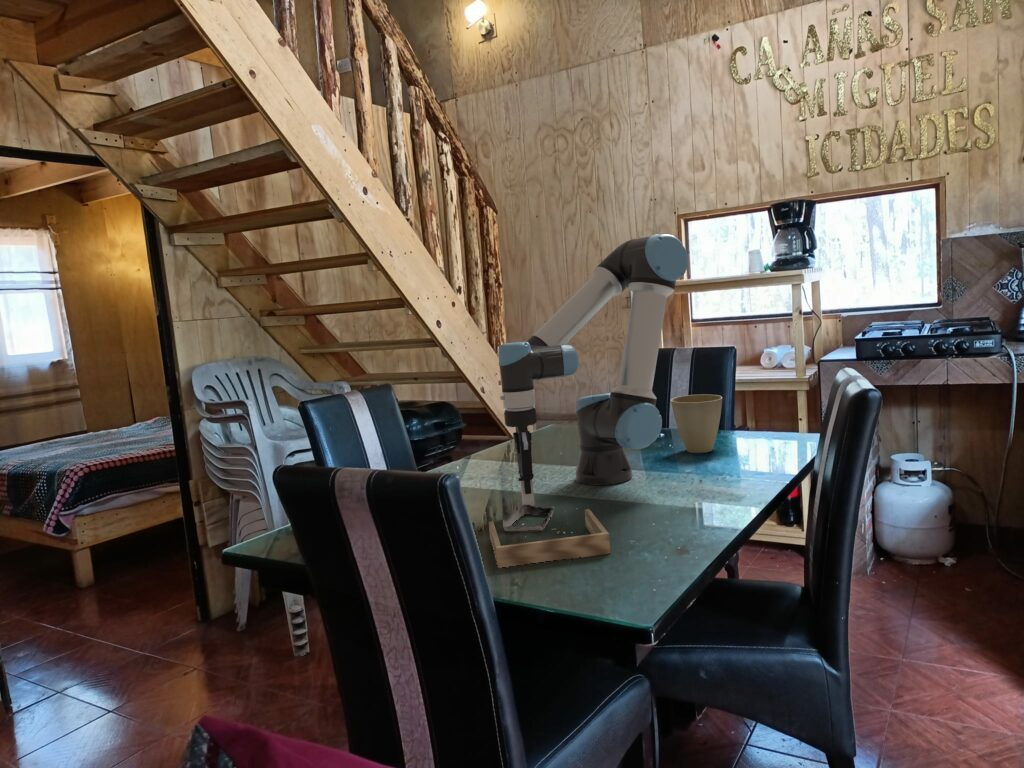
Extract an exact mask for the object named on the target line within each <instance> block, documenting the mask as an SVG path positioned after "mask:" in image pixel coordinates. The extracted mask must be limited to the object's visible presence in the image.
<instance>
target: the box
mask: <svg viewBox="0 0 1024 768" xmlns="http://www.w3.org/2000/svg"><path fill="white" fill-rule="evenodd" d="M584 518H585V528H586V530H588V532H589V533H590V534H584V535H576V536H568V537H559V538H551V539H544V540H537V541H529V542H524V543H523V542H521V543H513V544H506V545H502V544H501V542H500V539H499V535H498V532H497V528H496V527H495V523H494V521H493V520H492V521H491V520H490V521H488V530H489V540H490V543H492V544H491V547H493V548H492V550H494V551H493V555H494V554H495V555H494V558H495V561H497V562H496V566H497V565H498V566H497V569H498V568H499V569H503V568H502V567H506V568H510V567H509V566H514V567H517V566H516V565H521V566H524V565H523V564H529V565H531V564H530V563H536V562H544V563H546V562H545V561H551V562H554V561H553V560H558V561H563V560H562V559H566V560H572V559H571V558H573V559H578V558H579V557H581V558H585V557H586V558H587V557H594V556H601V555H603V556H604V555H609V553H610V554H611V543H610V533H609V532H608V530H607V529H606V527H604V525H603V524H602V523H601V521H600V520H599V519H598V518H597V516H595V514H594V513H593V512H592V511H591V510H590V509H589V508H587V509H584ZM579 559H580V558H579ZM536 564H537V563H536Z"/></svg>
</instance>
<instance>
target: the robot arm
mask: <svg viewBox="0 0 1024 768" xmlns="http://www.w3.org/2000/svg"><path fill="white" fill-rule="evenodd" d="M688 256H689V255H688V252H687V249H686V247H685V246H684V245H683V242H682V241H680V239H679V238H677V237H676V236H675V235H672V234H668V233H667V234H666V233H663V234H658V233H657V234H653V235H649V236H644V237H640V238H632V239H629V240H626V241H624V242H623V243H621V244H620V245H619V246H617V247H616V248H615V249H613V250H612V251H611V252H610V253H609V254H608V255H607V256H606V257H605V258H603V260H602V261H601V262H600V263H599V264H598V265H597V266H596V267H595V268H594V269H593V271H592V273H593V275H592V276H591V277H590V278H589V279H588V280H587V281H586V282H585V283H584V284H583V285H582V286H581V287H580V288H579V289H578V290H577V291H576V292H575V293H574V294H572V296H571V297H570V298H569V299H568V300H567V301H566V302H565V303H564V304H563V305H562V306H560V308H559V309H557V311H556V312H555V313H554V314H553V315H552V316H551V317H550V318H549V319H548V320H547V321H546V322H544V324H543V325H542V326H541V327H540V328H539V329H538V330H536V332H535V333H534V334H533V335H532V336H531V337H529V339H527V340H526V341H516V342H507V343H502V344H500V346H499V347H498V366H499V374H500V383H501V392H502V395H500V397H499V398H500V401H502V404H503V408H504V409H505V410H504V411H503V414H504V415H503V416H504V424H505V426H506V427H509V428H515V431H514V432H513V433H512V436H513V437H512V438H513V440H514V447H515V450H516V458H517V466H518V468H517V469H518V474H519V477H518V478H517V479H518V482H520V489H521V501H522V506H523V505H524V504H526V505H527V504H529V505H532V506H535V507H536V504H535V495H534V494H535V493H534V484H533V479H534V477H535V476H534V472H533V459H532V457H533V456H532V455H533V454H532V451H533V449H532V445H533V444H532V439H533V437H532V432H530V431H529V429H528V427H529V426H533V425H535V424H537V422H538V419H537V418H538V417H537V409H536V408H535V407H534V406H536V395H535V394H536V393H535V388H534V386H535V385H534V382H535V381H540V380H546V379H553V378H554V379H556V378H565V377H568V376H571V375H572V376H573V375H574V374H575V373H576V372H577V371H578V369H579V364H580V363H579V362H580V361H579V356H578V355H579V354H578V352H577V350H576V349H575V347H574V346H572V344H571V345H570V344H567V343H568V342H569V341H570V340H571V339H572V338H573V337H574V336H575V335H576V334H577V333H578V332H579V331H580V330H581V329H582V328H583V327H584V326H585V325H586V324H587V323H588V322H589V320H591V319H592V317H594V316H595V315H596V314H597V313H598V312H599V310H601V309H602V308H603V307H604V306H605V305H606V303H608V302H609V301H610V299H611V298H613V297H615V296H616V297H617V296H620V295H621V294H622V293H623V292H625V290H626V289H628V288H629V289H630V291H632V298H631V302H630V310H629V315H628V316H629V317H628V323H627V328H626V334H625V339H624V347H623V352H622V359H621V365H620V372H619V377H618V383H617V386H616V387H614V388H613V389H612V390H611V391H610V392H606V393H599V394H593V395H587V396H583V397H582V396H581V397H578V399H577V400H576V404H575V405H576V406H575V407H576V408H575V413H576V419H577V420H576V421H577V431H578V440H579V441H578V442H579V456H578V461H577V466H576V468H575V469H576V470H575V481H576V482H577V483H578V484H581V485H582V484H583V485H586V486H607V485H608V486H609V485H614V484H615V485H616V484H620V483H624V482H627V481H629V480H631V479H632V478H633V470H632V466H631V463H630V461H629V459H628V457H627V454H626V452H625V449H629V450H633V449H634V450H641V449H645V448H647V447H649V446H650V445H652V444H653V443H655V441H656V440H657V439H658V437H659V436H660V433H661V432H662V431H661V430H662V426H663V419H662V415H661V414H660V410H658V408H657V407H656V404H657V396H656V395H655V394H654V391H653V386H654V380H655V374H656V366H657V363H658V362H657V361H658V355H659V348H660V343H661V337H662V330H663V325H664V318H665V312H666V307H667V301H668V299H667V298H668V297H670V296H671V295H672V294H673V293H674V292H675V288H676V283H677V281H678V280H680V278H682V277H683V276H684V275H685V274H686V272H687V270H688V267H689V266H688V265H689V257H688Z"/></svg>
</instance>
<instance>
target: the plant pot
mask: <svg viewBox="0 0 1024 768" xmlns="http://www.w3.org/2000/svg"><path fill="white" fill-rule="evenodd" d="M670 402H671V408H672V411H673V416H674V421H675V423H676V427H677V429H678V433H679V435H680V438H681V440H682V443H683V444H684V445H683V446H684V448H685V450H686V451H687V453H692V454H703V453H704V454H705V453H709V452H712V451H713V449H714V446H715V442H716V440H717V435H718V430H719V426H720V420H721V414H722V405H723V397H722V396H721V395H718V394H710V393H709V394H707V393H706V394H689V395H681V396H676V397H672V398H671V399H670Z"/></svg>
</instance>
